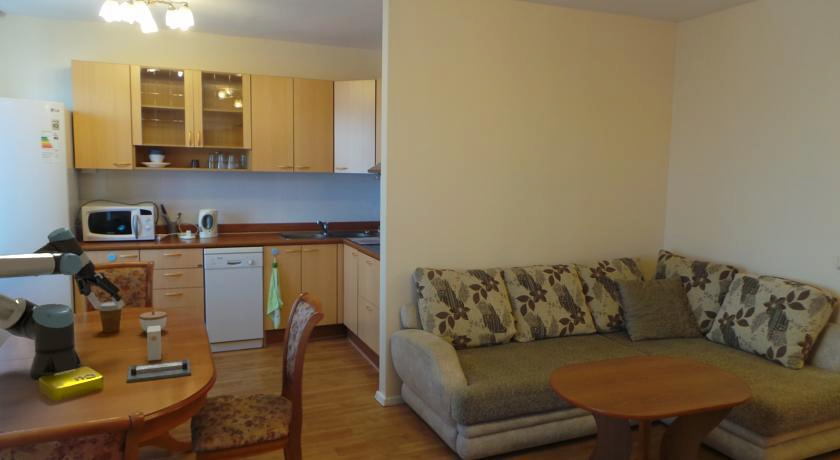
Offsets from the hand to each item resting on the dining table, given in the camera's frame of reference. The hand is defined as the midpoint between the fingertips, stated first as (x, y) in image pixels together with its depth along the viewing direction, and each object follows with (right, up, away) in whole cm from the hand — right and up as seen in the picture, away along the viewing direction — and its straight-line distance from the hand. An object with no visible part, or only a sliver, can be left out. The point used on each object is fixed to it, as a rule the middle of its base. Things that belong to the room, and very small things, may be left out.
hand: (110, 306), depth 226 cm
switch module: (+23, -18, -10) cm, 30 cm away
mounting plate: (+32, -20, -25) cm, 45 cm away
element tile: (+10, -22, -42) cm, 48 cm away
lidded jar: (+7, -14, +22) cm, 27 cm away
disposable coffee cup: (-12, -14, +22) cm, 28 cm away
